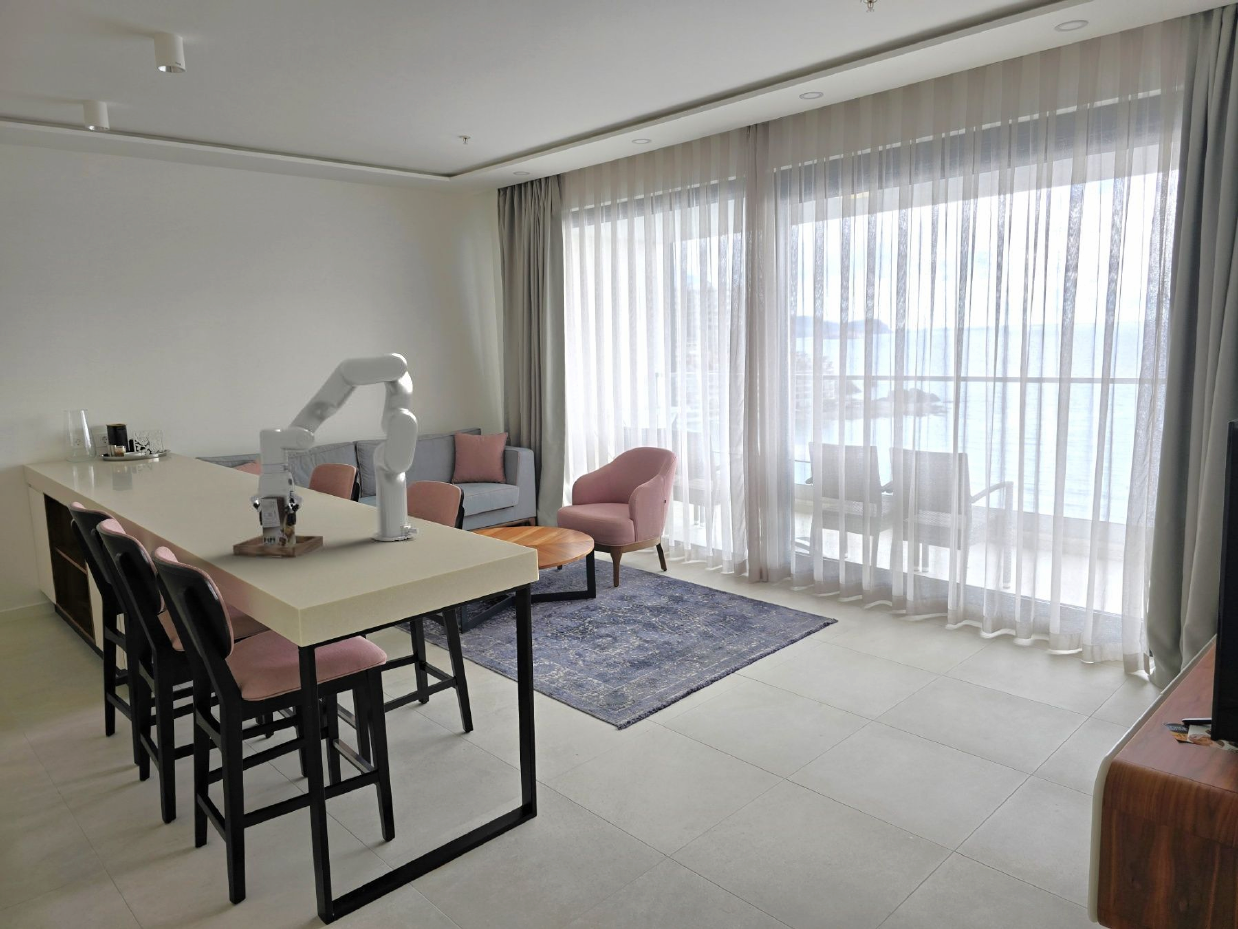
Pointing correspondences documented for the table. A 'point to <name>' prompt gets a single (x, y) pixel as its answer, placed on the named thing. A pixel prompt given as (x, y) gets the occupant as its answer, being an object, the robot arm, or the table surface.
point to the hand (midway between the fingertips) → (278, 524)
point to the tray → (278, 547)
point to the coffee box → (276, 523)
